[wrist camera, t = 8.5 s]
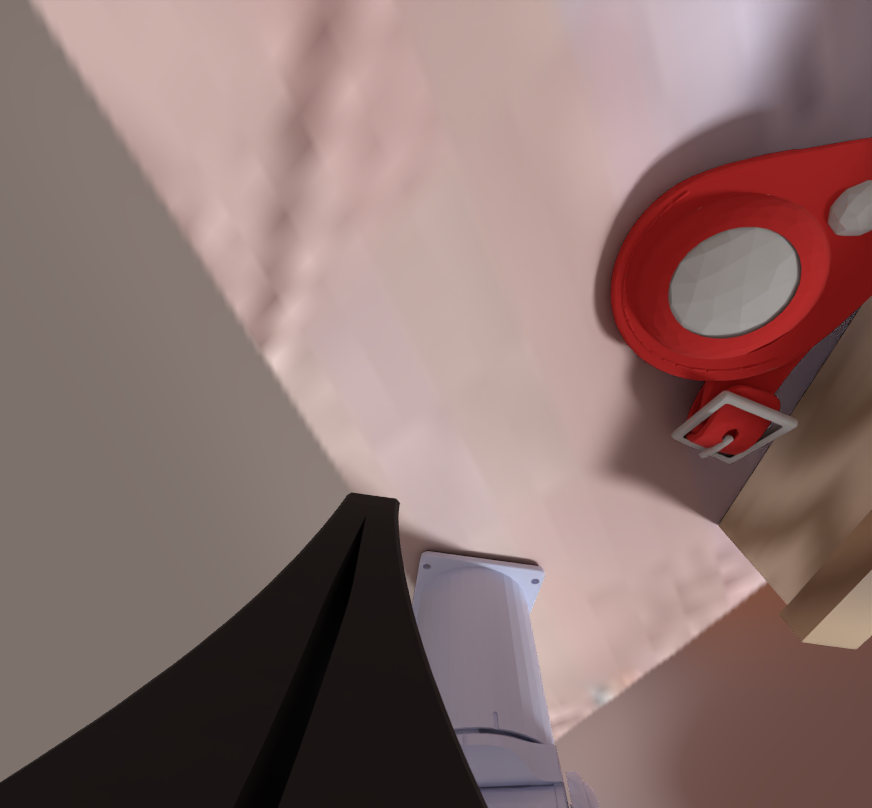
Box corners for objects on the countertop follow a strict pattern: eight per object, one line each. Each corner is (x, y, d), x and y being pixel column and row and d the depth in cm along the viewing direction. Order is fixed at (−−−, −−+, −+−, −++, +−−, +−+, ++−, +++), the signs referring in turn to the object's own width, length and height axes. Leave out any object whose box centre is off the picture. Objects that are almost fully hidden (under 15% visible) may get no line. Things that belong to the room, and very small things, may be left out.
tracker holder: (562, 263, 15) (909, 24, 10) (569, 258, 19) (822, 84, 13) (704, 499, 16) (1072, 401, 11) (684, 450, 20) (952, 360, 15)
